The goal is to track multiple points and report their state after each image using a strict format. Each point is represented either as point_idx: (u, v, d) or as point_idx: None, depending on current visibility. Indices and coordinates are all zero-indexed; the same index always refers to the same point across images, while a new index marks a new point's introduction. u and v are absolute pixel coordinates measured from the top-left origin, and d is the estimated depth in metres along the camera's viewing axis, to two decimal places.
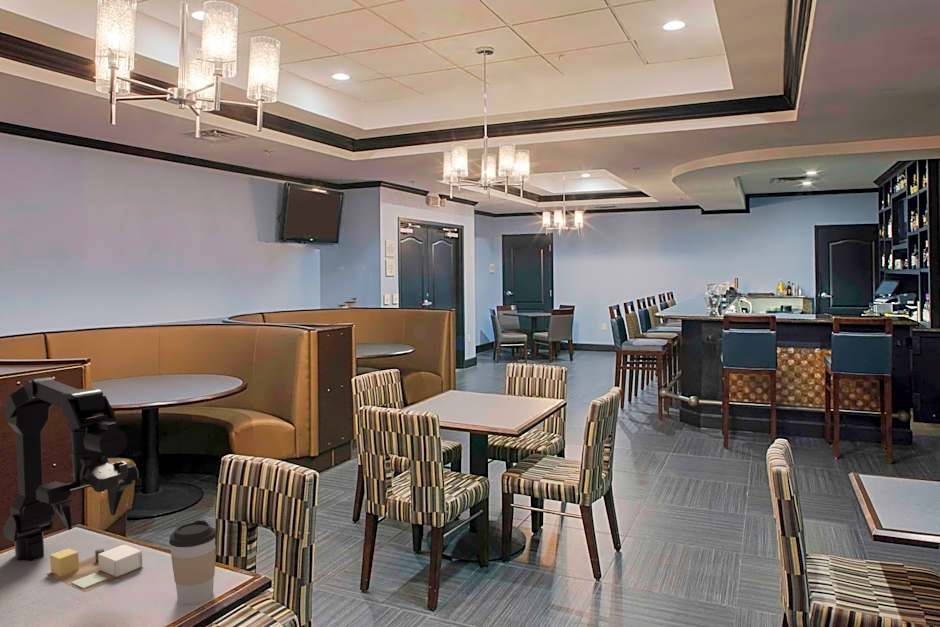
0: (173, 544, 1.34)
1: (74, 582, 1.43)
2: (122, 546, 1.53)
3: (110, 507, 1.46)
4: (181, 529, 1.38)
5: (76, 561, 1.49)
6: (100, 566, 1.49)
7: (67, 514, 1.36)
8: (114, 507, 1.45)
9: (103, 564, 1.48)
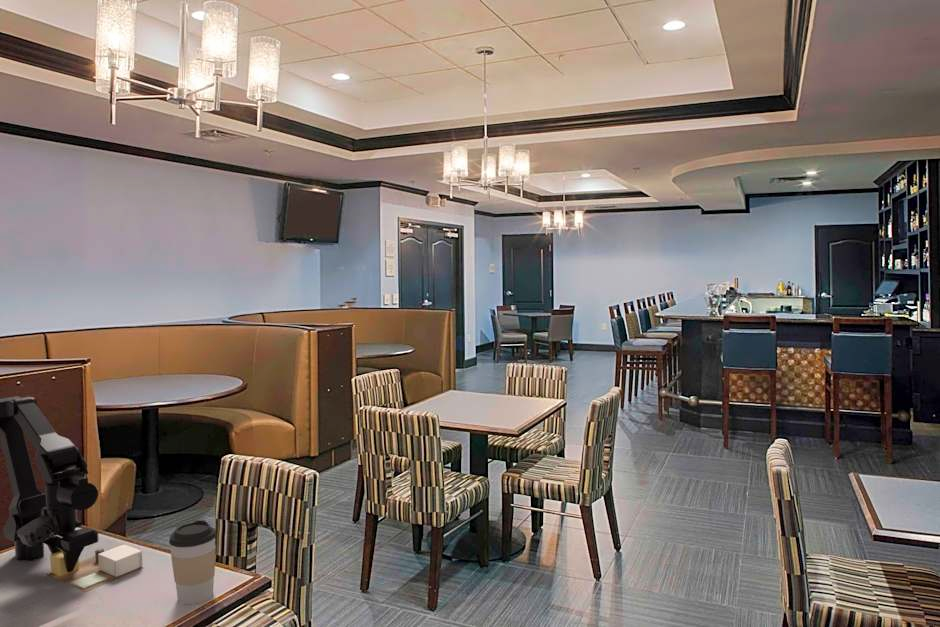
0: (173, 544, 1.34)
1: (74, 582, 1.43)
2: (122, 546, 1.53)
3: None
4: (181, 529, 1.38)
5: None
6: (100, 566, 1.49)
7: (51, 552, 1.49)
8: None
9: (103, 564, 1.48)
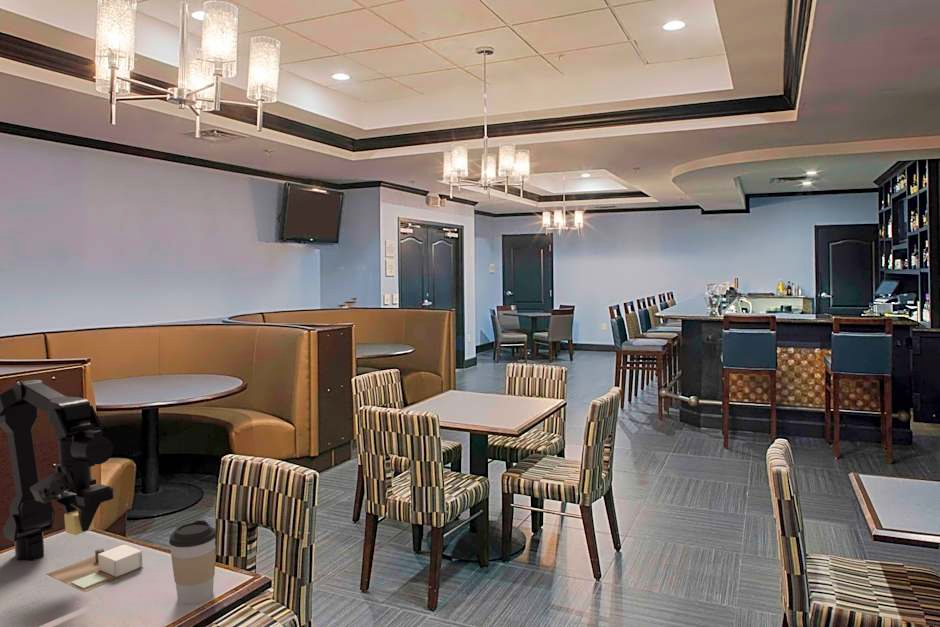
0: (173, 544, 1.34)
1: (74, 582, 1.43)
2: (122, 546, 1.53)
3: None
4: (181, 529, 1.38)
5: None
6: (100, 566, 1.49)
7: (66, 512, 1.45)
8: None
9: (103, 564, 1.48)
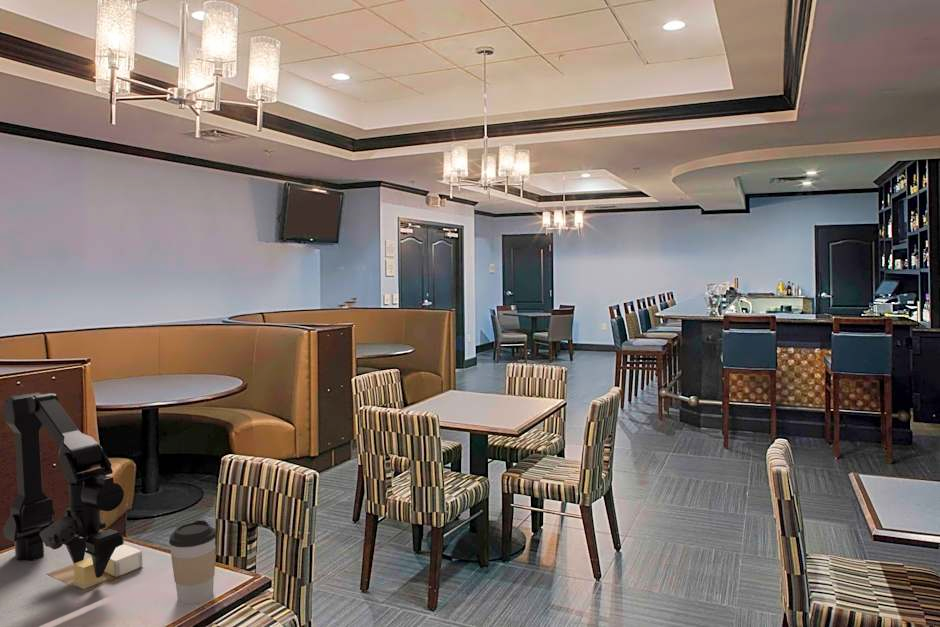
0: (173, 544, 1.34)
1: (74, 582, 1.43)
2: (122, 546, 1.53)
3: None
4: (181, 529, 1.38)
5: None
6: None
7: (70, 553, 1.45)
8: None
9: None
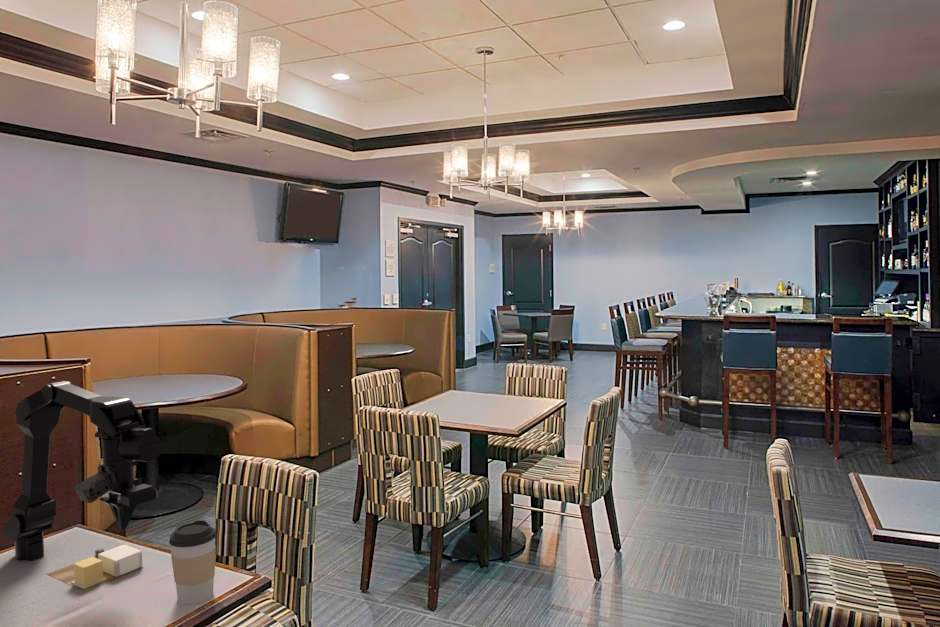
0: (173, 544, 1.34)
1: (74, 582, 1.43)
2: (122, 546, 1.53)
3: None
4: (181, 529, 1.38)
5: (100, 570, 1.44)
6: None
7: (114, 513, 1.43)
8: None
9: (103, 564, 1.48)
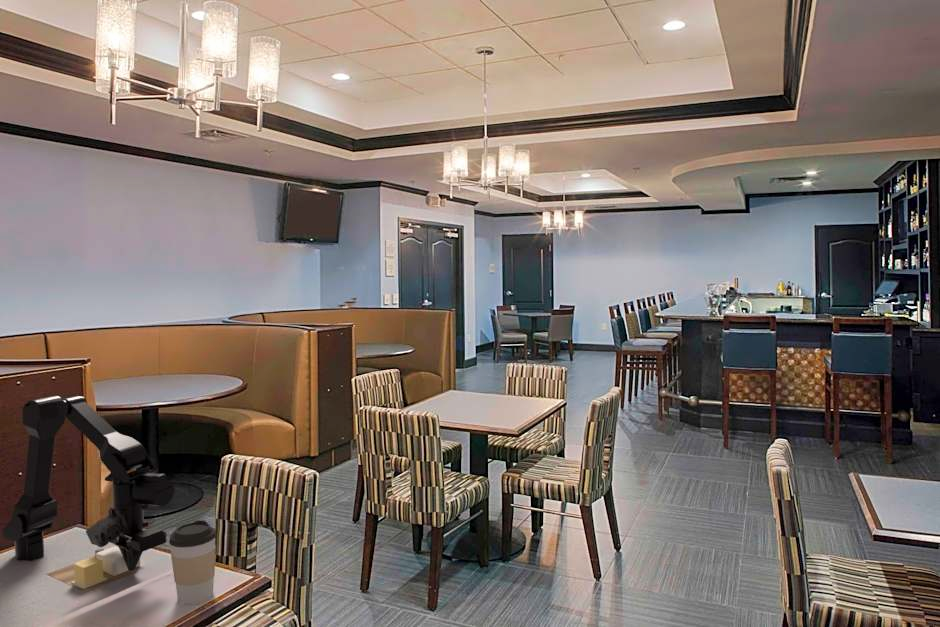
0: (173, 544, 1.34)
1: (74, 582, 1.43)
2: None
3: None
4: (181, 529, 1.38)
5: (100, 570, 1.44)
6: None
7: (123, 555, 1.47)
8: None
9: None
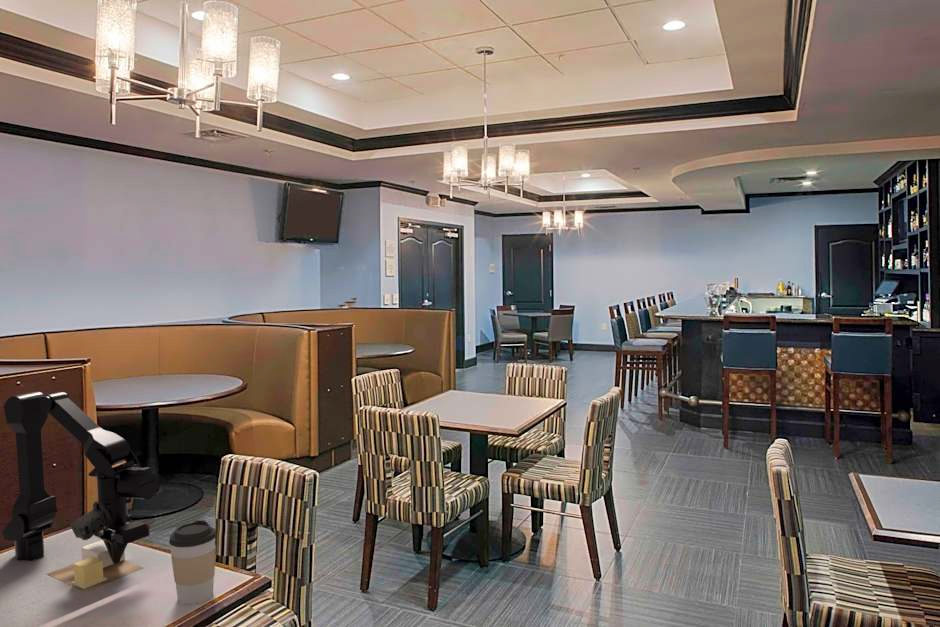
0: (173, 544, 1.34)
1: (74, 582, 1.43)
2: None
3: None
4: (181, 529, 1.38)
5: (100, 570, 1.44)
6: (83, 559, 1.52)
7: (107, 548, 1.50)
8: None
9: (86, 557, 1.52)
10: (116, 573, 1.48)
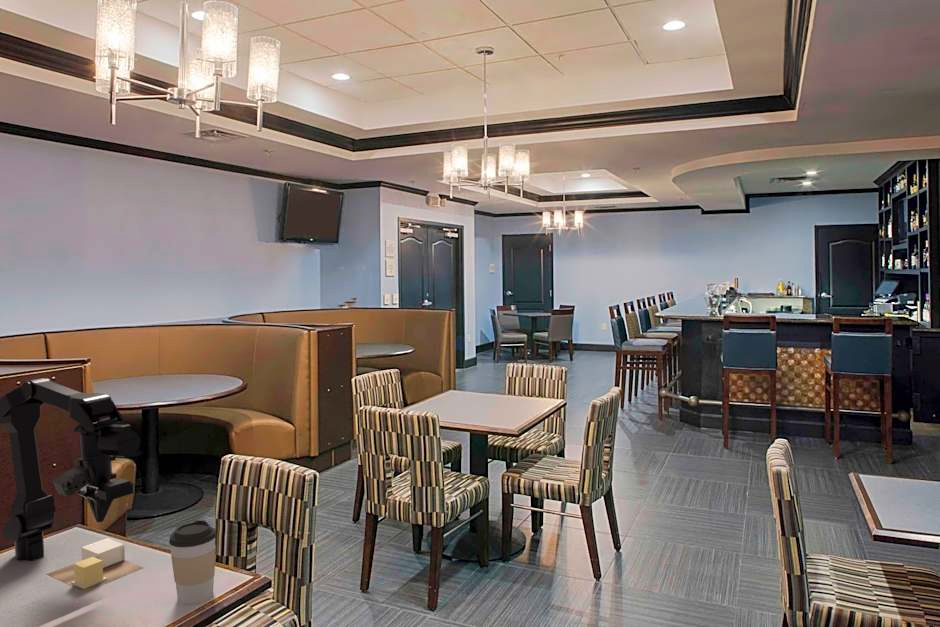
0: (173, 544, 1.34)
1: (74, 582, 1.43)
2: (105, 540, 1.56)
3: None
4: (181, 529, 1.38)
5: (100, 570, 1.44)
6: (83, 559, 1.52)
7: (91, 506, 1.47)
8: None
9: (86, 557, 1.52)
10: (116, 573, 1.48)
